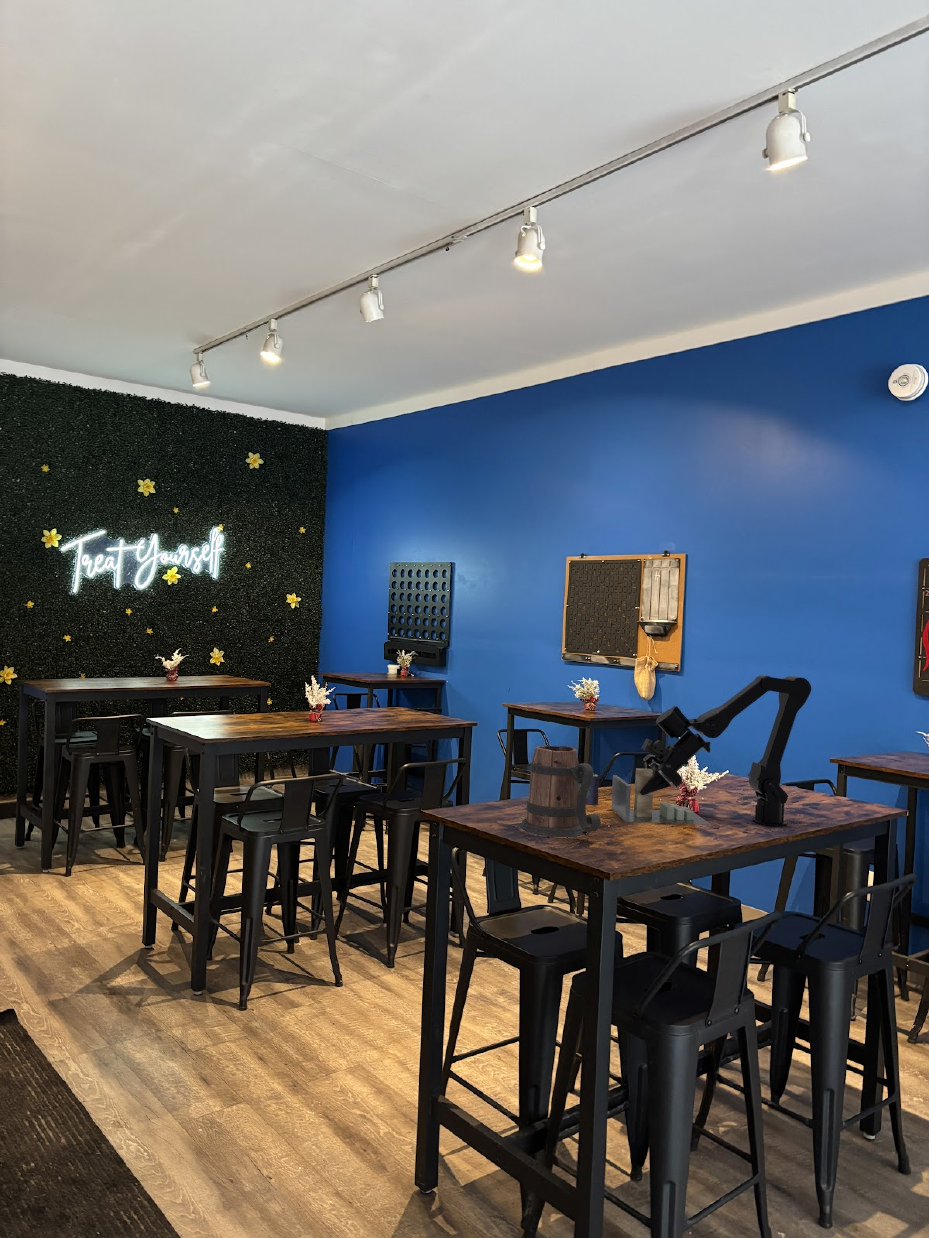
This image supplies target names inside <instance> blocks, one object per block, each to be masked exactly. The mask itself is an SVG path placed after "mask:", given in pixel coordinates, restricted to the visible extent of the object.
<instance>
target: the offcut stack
mask: <svg viewBox="0 0 929 1238" xmlns="http://www.w3.org/2000/svg"><path fill="white" fill-rule="evenodd" d="M659 810H660V814H661V815H662V816H663V817H665V818H666V819H674V818H676V819H677V820H684V818H685V819H686V820H694V813H695V811H693V810H692V809H690V808H688V807H687V806H679V805H678V804H670V803H669V802H666V801H665V802H664V801H660V802H659Z"/></svg>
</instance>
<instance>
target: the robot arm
mask: <svg viewBox="0 0 929 1238" xmlns="http://www.w3.org/2000/svg"><path fill="white" fill-rule="evenodd" d="M812 689H813V688H812V685H811V684H810V681H809V680H808V679H806V678H805V677H800V676H794V675H793V676H792V675H788V676H786V677H784V678H779V677H772V676H769V675H764V674H760V675H758V676H757V677H756V678H754V680H753V681H751V682H750V683H748V684H747V685H746V686H745V687H743V688H742V689H740V690H739V692H737V693H736V694H735V695H733V696H732V697H730V699H728V700H726V701H725V702H724V703H723V704H721V705H720V706H718V707H715V708H712V709H710V710H708V711H706V712H704V713H702V714H700V715H699V716H698V717H696V718H689V719H688V718H687V717H686V715H685V714H683V712H682V710H681V709H680V707H679V706H676V705H673V706H672V707H671V708H669V709H667V710H666V711H664V712H662V713H661V714H660V715H659V716H658V717H657V719H656V721H655V723H656V724H657V725H658V726H659V727H660V728H661V730H662V731H663V732H664V733H665V735H667V736H668V738H670V739H674V738H675V739H677V740H676V741H675V742H674V743H673V744H667V745H666V746H665V742H663V741H660V739H657V740H655V741H653V740H651V739H649V738H647V737H646V738H645V740H644V741H643V744H642V746H641V748H640V749H641V750H642V751H645V752H646V753H648V754H647V755H646V756H645V757H644V758H642V760H643V761H644V769H652V770H653V775H652V777H651V778H650V780H649V781H648V782H647V783H646V784H645V786H644V787H643V788H642V790H641V791H640V794H641V795H646V794H648V793H651V792H653V793H654V792H657V791H659V790H662V789H666V788H671V787H672V786H673V787H675V788H678V787H679V786H680V785H681V784H682V782H683V777H682V776H681V775H680V773H679V772H678V771H679V770H680V769H682V768H683V767H684V766H685V767H687V766H688V765H689V764H690V762H689V761H690V760H691V759H692V758H693V757H694V756H695V755H696V754H698V753H699V752H700V751H701V750H703V751H704V752H706V753H711V741H709V740H704V737H706V738H710V739H716V738H718V737H720V736H721V735H722V734H723V733H724V732H725V730H726V729H727V728H728V727H729V726H730V724H731V722H732V721H733V719H735V718H736V717H737V716H738V715H740V714H741V713H742V712H743V711H745V710H746V709H747V708H748V707H750V706H751V705H752V704H754V703H755V702H756V701H757V700H759V699H760V698H761V697H763V696H764V695H765V694H766V693H768V692H775V693H778V711H777V714H776V716H775V719H774V723H773V725H772V729H771V732H770V734H769V738H768V741H767V744H766V747H765V750H764V753H763V756H762V758H761V759H760V760H759V762H755V761H752V763H751V765H750V766H751V767H750V772H749V773H748V774H747V777H748V778H749V779H748V784H749V785H750V788H751V789H752V791H754V793H755V796H756V797H758V798H757V799H756V804H755V810H754V811H755V812H754V813H755V814H754V818H752V821H753V822H756V823H758V824H761V825H764V826H766V825H778V826H788V823H787V822H785V821H784V820H785V819H784V818H785V804H786V803H787V801H788V799H789V795H788V793H787V792H786V791H785V790H784V789H783V788H782V787H781V782H782V781H781V780H782V770H781V768H782V767H781V763H782V760H783V758H784V753H785V750H786V747H787V745H788V741H789V740H790V735H791V732H792V730H793V727H794V723H795V721H796V717H797V715H798V712H799V711H800V710H801V709H802V708H803V706H804V705H805V704H806V702H807V701H808V699H809V696H810V695H811V692H812ZM691 729H692V730H695V731H696V732H697V733H694V732H693V731H692V730H691ZM702 736H704V737H702ZM671 783H672V785H671Z"/></svg>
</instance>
